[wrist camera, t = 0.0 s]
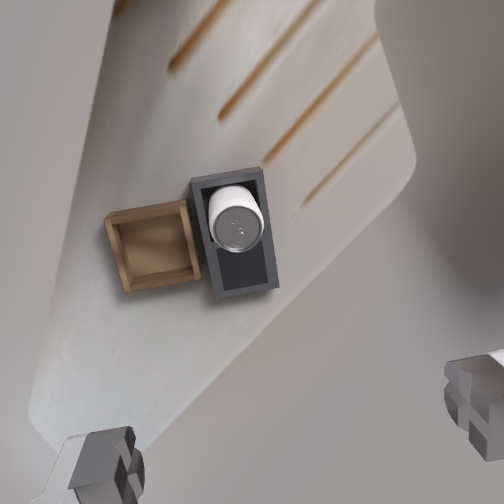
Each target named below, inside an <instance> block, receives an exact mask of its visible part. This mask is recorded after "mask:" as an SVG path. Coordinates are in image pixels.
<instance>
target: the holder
mask: <svg viewBox="0 0 504 504" xmlns="http://www.w3.org/2000/svg"><path fill="white" fill-rule="evenodd" d="M104 223H105V227H106V230H107V233H108V237H109V240H110V244H111V247H112V250H113V254H114V257H115V261H116V264H117V267H118V271H119V274H120V277H121V281H122V284H123V288H124V291H125V293H129V292H134V291H140V290H145V289H151V288H156V287H161V286H167V285H172V284H177V283H183V282H188V281H194V280H199V279H201V264H200V259H199V255H198V250H197V245H196V241H195V236H194V232H193V227H192V222H191V218H190V213H189V208H188V204H187V199H184V200H178V201H172V202H167V203H161V204H155V205H150V206H144V207H138V208H133V209H127V210H121V211H116V212H110V213H109V214H108V215H107V217H106V218H105V219H104Z"/></svg>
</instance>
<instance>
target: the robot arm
mask: <svg viewBox="0 0 504 504" xmlns="http://www.w3.org/2000/svg"><path fill="white" fill-rule="evenodd" d="M444 375H445V376H446V377H447V379H448V380H449V383H448V384H447V386H446V387H445V388H444V400H445V404H446V407H447V410H448V412H449V414H450V416H451V418H452V419H453V421H454V422H455V423H456V425H457V426H458V427H460V428H462V429H464V430H466V431H468V432H469V441H470V443H471V444H472V445H473V446H474V448H475V449H476V450H477V451H478V452H479V454H480V455H481V456H482V457H483V459H484V460H485V461H486V462H490V461H495V460H501V459H504V349H502V350H497V351H493V352H488V353H485V354H481V355H476V356H472V357H467V358H462V359H457V360H453V361H448V362H446V365H445V369H444ZM135 440H136V437H135V434H134V431H133V429H132V427H130V426H125V427H120V428H114V429H108V430H103V431H97V432H91V433H89V434H82V435H77V436H71V437H69V438H68V439H67V440H66V441H65V442H64V444H63V447H62V449H61V451H60V454H59V456H58V458H57V461H56V463H55V466H54V468H53V470H52V473H51V475H50V477H49V480H48V482H47V484H46V487H45V489H44V492H43V494H42V495H40V496H36V497H35V498H34V499H32V501H30V502H29V503H28V504H138V502H137V500H138V498H139V497H140V496H141V495H142V493H143V490H144V482H145V476H144V475H145V469H144V463H143V458H142V455H141V452H140V451H139V450H138V449H136V448H135V447H134V445H135Z"/></svg>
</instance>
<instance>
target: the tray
mask: <svg viewBox="0 0 504 504" xmlns="http://www.w3.org/2000/svg"><path fill="white" fill-rule="evenodd" d="M249 180H254V183H255V189H256V196H257V202H258V207H259V209H260V211H261V214H262V216H263V221H264V228H263V233H262V235H261V237H260V239H259V241H258V243H257V244H256V245H255V246H254V247H252V248H251V249H249V250H247V251H244V252H239V253H236V252H230V251H227V250H225V249H224V248H222V247H221V246H219V245H218V244H217V243H216V242H215V240H214V239H213V237H212V235H211V234H210V229H209V224H208V219H207V214H206V209H205V204H204V199H203V194H202V189H203V188H209V187H215V186H220V185H226V184H232V183H237V182H243V181H249ZM191 185H192V190H193V195H194V200H195V205H196V209H197V214H198V219H199V224H200V229H201V233H202V238H203V243H204V248H205V252H206V257H207V262H208V267H209V272H210V276H211V281H212V286H213V291H214V296H215V300H216V299H221V298H226V297H231V296H237V295H242V294H247V293H253V292H258V291H263V290H269V289H274V288H279V280H278V273H277V266H276V259H275V252H274V245H273V238H272V231H271V224H270V217H269V210H268V204H267V197H266V190H265V183H264V176H263V170H262V169H261V168H260V167H253V168H248V169H242V170H236V171H230V172H225V173H219V174H213V175H207V176H202V177H196V178H192V180H191Z"/></svg>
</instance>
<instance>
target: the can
mask: <svg viewBox="0 0 504 504" xmlns="http://www.w3.org/2000/svg"><path fill="white" fill-rule="evenodd" d="M209 228H210V232H211V235H212V237H213V239H214V240H215V242H216V243H217V244H218V245H219V246H221V247H222V248H224V249H225V250H227V251H230V252H236V253H239V252H244V251H247V250H249V249H251V248H252V247H254V246H255V245H256V244H257V243H258V241H259V239H260V237H261V235H262V233H263V228H264V221H263V216H262V214H261V211H260V209H259V207H258V205H257V204H256V202H255V200H254V198H253V196H252V194H251V193H250V192H249V190H247V189H246V188H245V187H244V186H242V185H239V184H235V183H232V184H226V185H222V186H220V187H218V188H217V189H216V190H215V191H214V192H213V194H212V195H211V197H210V200H209Z"/></svg>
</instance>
